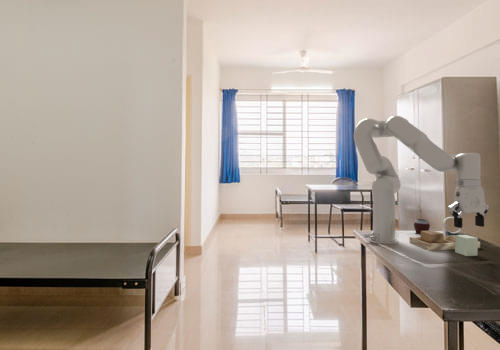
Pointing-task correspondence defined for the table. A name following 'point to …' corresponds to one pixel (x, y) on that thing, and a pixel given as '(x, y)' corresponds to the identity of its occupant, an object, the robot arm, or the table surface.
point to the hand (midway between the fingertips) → (469, 226)
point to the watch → (449, 231)
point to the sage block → (466, 245)
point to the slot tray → (447, 243)
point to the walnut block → (432, 237)
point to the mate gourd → (421, 224)
